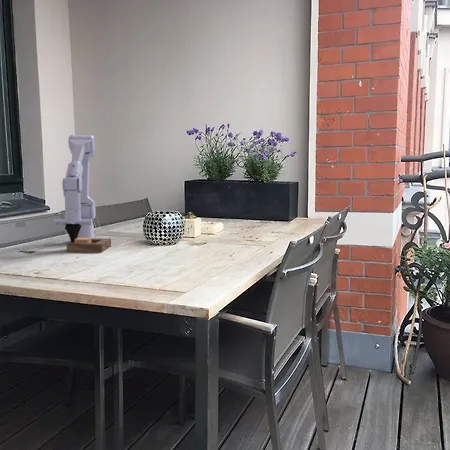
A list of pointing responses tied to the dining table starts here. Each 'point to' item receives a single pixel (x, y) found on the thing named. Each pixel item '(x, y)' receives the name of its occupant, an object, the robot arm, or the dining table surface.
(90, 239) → the key block
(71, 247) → the tray
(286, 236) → the dining table surface
